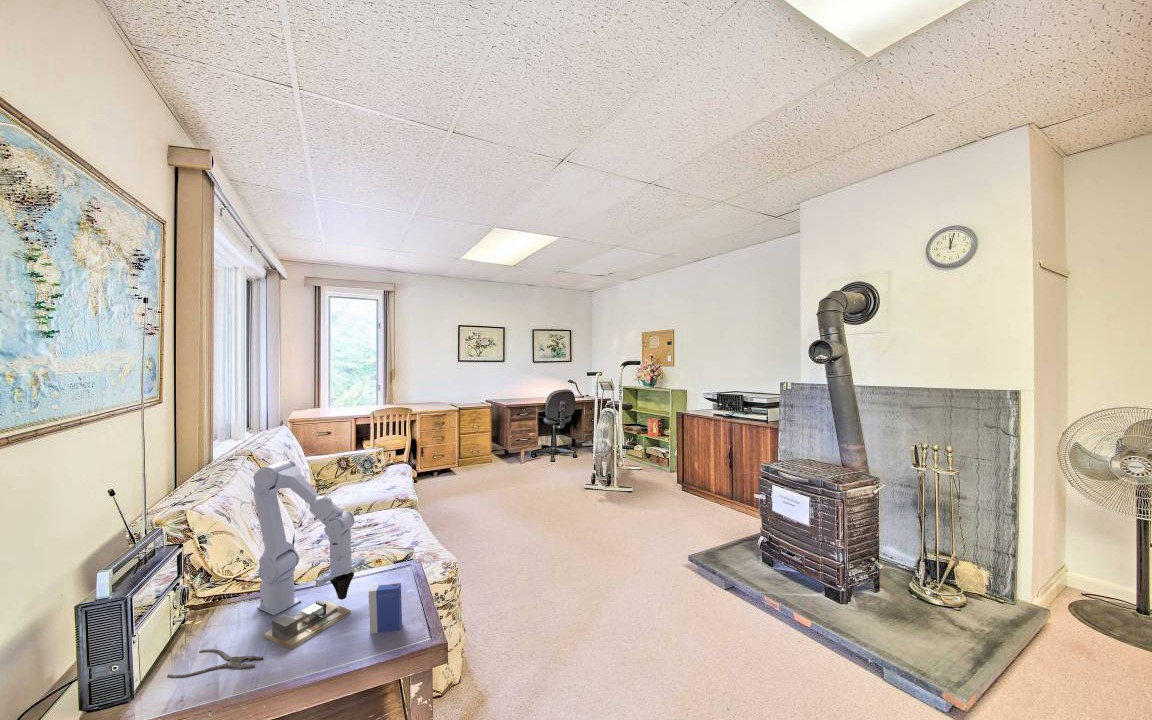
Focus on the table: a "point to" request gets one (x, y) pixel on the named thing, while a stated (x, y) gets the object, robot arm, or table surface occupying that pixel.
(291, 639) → the bench
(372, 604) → the walkman
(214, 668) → the pliers
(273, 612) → the robot arm
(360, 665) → the table surface
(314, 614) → the block with upright rod
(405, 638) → the table surface
